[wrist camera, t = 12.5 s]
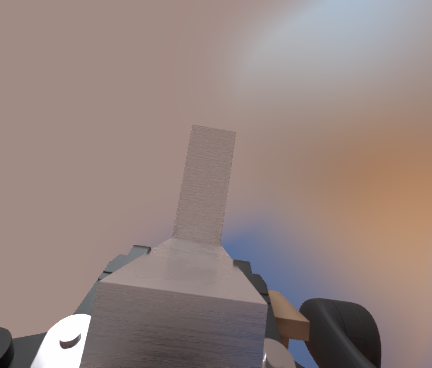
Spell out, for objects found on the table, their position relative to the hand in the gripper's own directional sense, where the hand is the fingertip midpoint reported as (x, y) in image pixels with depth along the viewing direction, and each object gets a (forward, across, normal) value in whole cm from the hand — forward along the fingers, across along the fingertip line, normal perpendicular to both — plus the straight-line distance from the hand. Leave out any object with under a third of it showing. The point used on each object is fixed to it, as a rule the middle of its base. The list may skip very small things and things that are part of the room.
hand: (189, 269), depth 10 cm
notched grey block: (+1, 0, +4) cm, 5 cm away
